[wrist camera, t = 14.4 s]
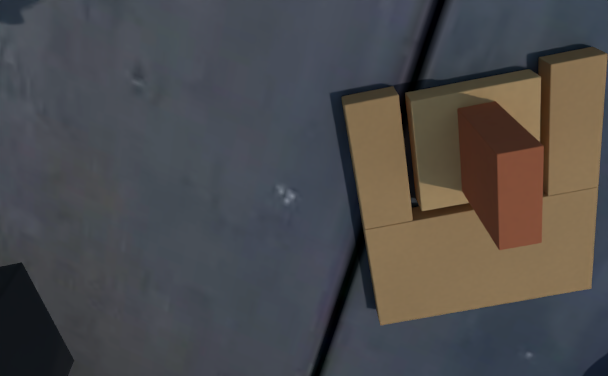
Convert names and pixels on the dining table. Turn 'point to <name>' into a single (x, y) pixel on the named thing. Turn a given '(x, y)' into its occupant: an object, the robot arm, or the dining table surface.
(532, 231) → the open box
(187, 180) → the dining table surface
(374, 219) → the base pad
